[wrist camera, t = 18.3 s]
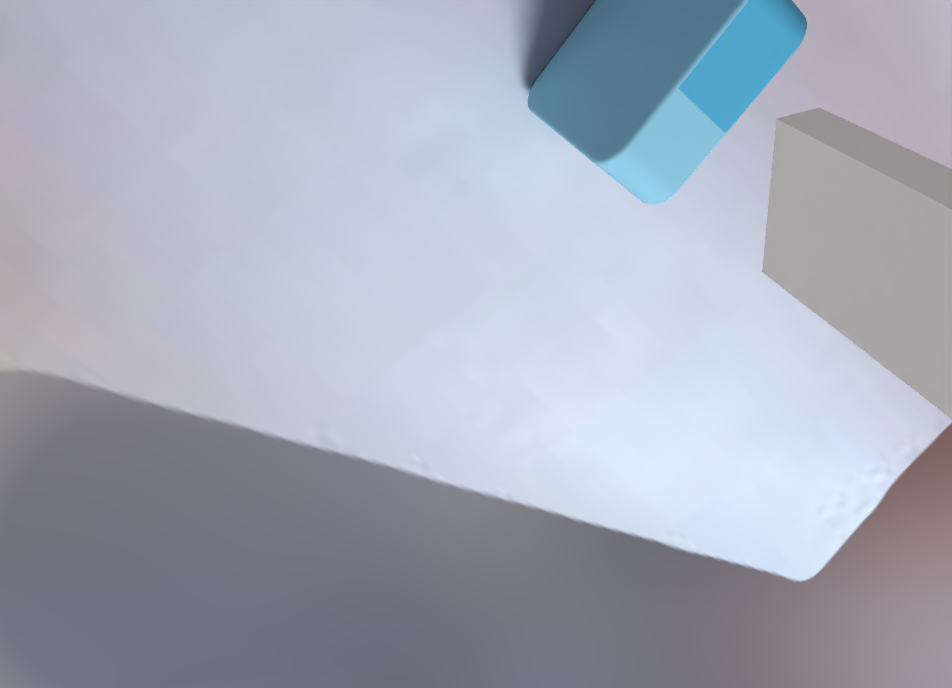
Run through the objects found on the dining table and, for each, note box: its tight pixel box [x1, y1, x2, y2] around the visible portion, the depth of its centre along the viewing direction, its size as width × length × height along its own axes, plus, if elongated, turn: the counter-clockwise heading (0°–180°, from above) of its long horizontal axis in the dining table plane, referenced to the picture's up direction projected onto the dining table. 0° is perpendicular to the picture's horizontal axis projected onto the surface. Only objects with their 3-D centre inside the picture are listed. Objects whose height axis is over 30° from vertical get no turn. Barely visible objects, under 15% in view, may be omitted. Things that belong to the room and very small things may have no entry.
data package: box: [528, 0, 807, 204], centre depth 46 cm, size 12×4×12 cm, turn 140°
